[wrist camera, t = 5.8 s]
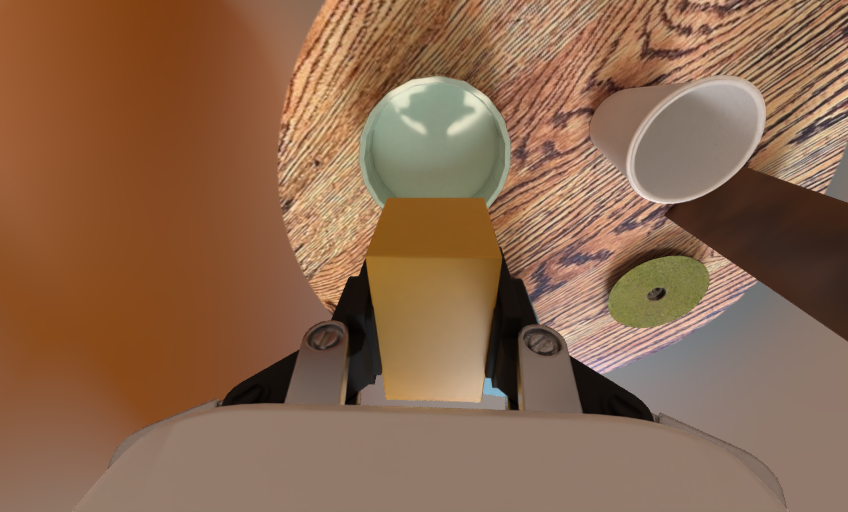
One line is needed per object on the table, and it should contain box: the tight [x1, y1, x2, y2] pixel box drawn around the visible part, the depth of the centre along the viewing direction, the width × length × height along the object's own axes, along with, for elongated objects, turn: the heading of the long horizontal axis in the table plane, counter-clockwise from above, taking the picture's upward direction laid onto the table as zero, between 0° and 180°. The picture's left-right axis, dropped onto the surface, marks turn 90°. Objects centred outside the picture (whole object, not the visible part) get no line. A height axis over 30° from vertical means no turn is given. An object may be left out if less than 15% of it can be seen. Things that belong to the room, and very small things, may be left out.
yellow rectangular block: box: [365, 198, 502, 402], centre depth 11 cm, size 6×4×4 cm, turn 1°
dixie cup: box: [589, 75, 766, 204], centre depth 25 cm, size 8×8×10 cm
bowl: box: [359, 74, 511, 209], centre depth 29 cm, size 13×13×4 cm
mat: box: [608, 256, 710, 328], centre depth 38 cm, size 11×11×2 cm
